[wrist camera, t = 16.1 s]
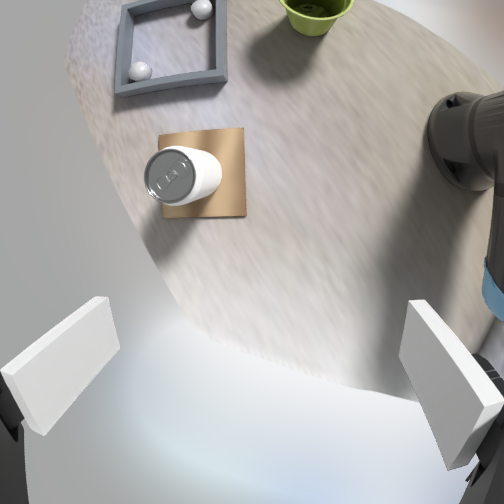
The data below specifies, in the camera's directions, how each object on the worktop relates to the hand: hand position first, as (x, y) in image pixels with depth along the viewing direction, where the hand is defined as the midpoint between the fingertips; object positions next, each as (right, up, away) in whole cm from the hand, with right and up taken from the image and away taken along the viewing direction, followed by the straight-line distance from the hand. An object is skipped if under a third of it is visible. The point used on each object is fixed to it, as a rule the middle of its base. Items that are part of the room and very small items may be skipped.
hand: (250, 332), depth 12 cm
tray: (-12, +34, +24) cm, 44 cm away
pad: (-7, +14, +29) cm, 33 cm away
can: (-7, +14, +29) cm, 33 cm away
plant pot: (+8, +36, +22) cm, 43 cm away
